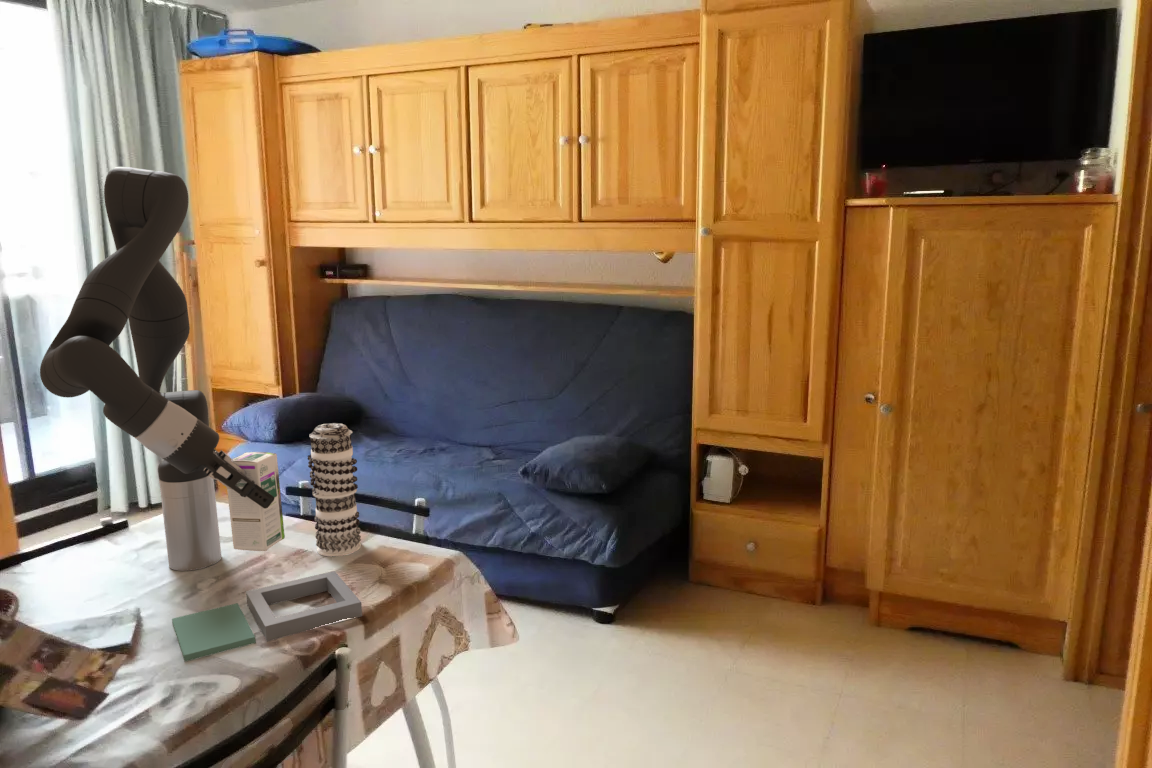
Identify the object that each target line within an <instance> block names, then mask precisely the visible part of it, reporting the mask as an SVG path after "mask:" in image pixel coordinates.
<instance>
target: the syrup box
mask: <svg viewBox="0 0 1152 768" xmlns="http://www.w3.org/2000/svg"><path fill="white" fill-rule="evenodd" d="M232 459H233V461H234V463H235V464H237V465H238V466H239V467H241V468H242V469H243V470H245V471H246V473H247V474H246V476H247V477H248V478H250V479H251V480H252V481H253V480H254V481H255V483H256V484H257V485H258V486H260V487H261V488H262V489H264V490H265V491H267V492H268V493H270V494H271V495H272V496H273V497H274V501H273V502H272V503H271V504H270V506H269V507H268V508H263V507H261V506H260V505H258V504H257V503H256V502H254V501H253V500H251V499H250V498H248V497H242V496H240V494H239V493H237V492H236V491H234V490H231V489H229V488H227V487H226V490H227V499H228V500H227V501H228V507H229V508H228V509H229V517H230V526H231V535H232V544H233V545H232V546H233V549H234V550H240V551H249V552H251V551H252V552H253V551H254V552H267V551H269V549H270V548H272V547H273V546H275V545H276V544H278V543H279V542H281V541H283V540H284V539H285V537H286V535H285V528H284V525H285V524H284V516H283V505H282V495H281V486H280V484H281V483H280V474H279V464H278V454H277V453H275V452H268V451H251V452H250V451H249V452H244V453H243V454H241V455H239V456H237V457H234V458H232ZM237 471H238V470H237ZM246 483H247V482H246V481H244V480H243V479H242V480H241V481H240V482H239V484H238V487H239V488H240V489H242V488H243V487H244V486H245V485H246Z"/></svg>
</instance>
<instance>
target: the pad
mask: <svg viewBox="0 0 1152 768" xmlns="http://www.w3.org/2000/svg"><path fill="white" fill-rule="evenodd" d="M171 622H172V627H173V631H174V633H175V637H176V639H177V641H178V642H177V643H178V646H179V648H180V651H181V652H180V653H181V655H182V659H183V660H184V662H188V661H192V660H196V659H200V658H204V657H207V656H211V655H215V654H219V653H223V652H226V651H230V650H234V649H238V648H241V647H245V646H249V645H252V644H256V636H255V634H254V632H253V630H252V628H251V626H250V624H249V622H248V620H247V618H246V616H245V615H244V613H243V610H242V609H241V607H240V605H239V603H238V602H237V603H232V604H228V605H223V606H220V607H215V608H211V609H206V610H202V611H197V612H194V613H190V614H186V615H182V616H178V617H173V618H172V619H171Z"/></svg>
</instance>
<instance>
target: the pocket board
mask: <svg viewBox="0 0 1152 768" xmlns="http://www.w3.org/2000/svg"><path fill="white" fill-rule="evenodd" d="M327 590H328V591H327ZM323 591H324V592H328V593H329V595H330V594H331V595H330V596H331V597H332V598H333V600H334V599H335V600H334V601H335V602H334V603H330V604H326V605H322V606H318V607H315V608H311V609H309V608H308V609H307V610H302V611H297V612H294V613H289V614H286V615H283V616H282V615H281V616H278V617H276V616H275V614H274V612H273V611H272V609H271V607H270V605H275V604H278V603H283V602H287V601H292V600H295V599H299V598H303V597H306V596H311V594H312V595H315V594H316V595H317V594H321V593H324V592H323ZM245 598H246V605H247V607H248V610H249V611H250V613H251V616H252V617H253V619H254V621H255V623H256V624H257V626H258V628H259V630H260V632H261V634H262V635H263V637H264V639H265V642H271V641H273V640H279V639H281V638H284V637H289V636H293V635H296V634H300V633H304V632H307V631H306V630H308V631H311V630H310V629H312V630H314V629H313V628H315V627H319V626H321V625H325V624H329V623H333V622H336V621H339V620H342V619H347V618H353V619H355V618H354V617H357V618H361V617H363V608H362V601H361V600H360V599H359V597H358V596H357V595H356V594H355V593H354V592H353V590H351V588H350V586H348V584H347V583H346V582H345V581H344V580H343V579H342V578H341V577H340V575H338V573H337V572H336V571H335V570H332V571H327V572H325V573H318V574H316V575H315V574H314V575H312V576H311V575H310V576H307V577H303V578H297V579H294V580H290V581H289V580H288V581H285V582H281V583H277V584H272V585H267V586H264V587H259V588H254V589H251V590H246V591H245ZM319 628H320V627H319Z"/></svg>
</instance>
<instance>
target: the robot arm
mask: <svg viewBox="0 0 1152 768" xmlns="http://www.w3.org/2000/svg"><path fill="white" fill-rule="evenodd" d="M103 197H104V205H105V206H104V207H105V211H106V216H107V219H108V223H109V226H110V230H111V234H112V239H113V242H114V245H115V249H116V251H114V252H113V253H112V254H110V255H109V256H108V257H106V258H105V259H103V260H102V261H101V262H100V263H98V264H97V265H96V266H94V268H93V269H92V270H91V271H90V272H89V273H88V275H87V276H86V278H85V280H84V281H83V283H82V285H81V288H80V290H79V291H78V293H77V296H76V299H75V301H74V303H73V304H72V307H71V310H70V313H69V315H68V317H67V319H66V321H65V322H64V324H63V325H62V327H60V329H59V331H58V333H57V334H56V336H55V337H54V338H53V340H52V342H51V344H50V345H49V347H48V349H46V352H45V353H44V356H43V358H42V360H41V363H40V367H39V377H40V381H41V382H42V384H43V386H44V388H45V389H47V391H48V392H50V393H51V394H53V395H55V396H57V397H61V398H75V397H79V396H81V395H83V394H86V393H87V392H89V391H90V392H91V393H92V394H93V395H95V396H96V397H97V398H98V399H99V400H100V401H101V402H102V403H103V404H104V405H103V408H102V411H103V412H102V413H103V415H104V417H105V418H106V419H107V420H109V421H110V423H112V424H114V425H115V426H116V427H118V428H120V429H121V430H122V431H124V432H125V433H126V434H128V435H130V436H131V437H132V438H134V439H135V440H137V441H138V442H139V443H140V444H141V445H142V446H143V447H145V448H146V449H147V450H148V451H150V452H152V453H153V454H155V455H156V456H157V457H159V458H160V459H162V461H161V462H160V463H159V465H157V474H158V482H159V483H158V484H159V489H160V497H161V499H160V500H161V507H162V515H163V525H164V532H165V534H164V535H165V540H166V541H165V542H166V550H167V560H168V567H169V568H170V569H171V570H175V571H195V570H200V569H205V568H209V567H210V566H212V565H215V564H216V563H218V562H220V560H221V559H222V550H221V549H222V548H221V539H220V538H221V537H220V529H219V518H218V509H217V501H216V491H215V482H214V481H217V482H219V483H221V484H222V485H223V486H224V487H226V489H227V488H229V489H231V490H234V491H236V492H237V493H239V494H240V496H242V497H248V498H250V499H251V500H253V501H254V502H256V503H257V504H258V505H260V506H261V507H263V508H268V507H269V506H270V504H271V503H272V502H273V501H274V497H273V496H272V495H271V494H270V493H268V492H267V491H265V490H264V489H262V488H261V487H260V486H258V485H257V484H256V483H255V481H254V480H253V481H252V480H251V479H250V478H248V477H247V476H246V474H247V473H246V471H245V470H243V469H242V468H241V467H239V466H238V465H237V464H235V463H234V461H233V459H234V458H232V457H230V455H229V454H227V453H226V451H223V450H222V449H220V451H218V450H217V449H215V448H217V446H218V444H219V442H220V434H219V433H218V431H215V430H214V429H212V428H211V427H210V425H209V423H210V422H209V421H210V420H209V419H210V418H209V407H208V401H207V398H206V396H205V394H204V392H202V391H201V390H198V389H195V390H193V389H192V390H180V391H179V390H177V391H168V392H167V391H166V392H161V388H162V384H163V382H164V380H165V377H166V374H167V372H168V370H169V368H170V367H171V365H172V364H173V363H174V361H175V360H176V358H177V357H178V355H179V354H180V352H181V351H182V349H183V347H184V346H185V344H186V343H187V341H188V338H189V336H190V335H189V334H190V331H191V330H190V329H191V328H190V320H189V310H188V302H187V299H186V295H185V293H184V291H183V290H182V288H181V287H180V285H179V283H178V282H177V281H176V279H175V278H174V277H173V276H172V274H171V273H170V272H169V270H167V268H166V267H165V266H164V265H163V264H162V262H161V261H160V260H161V258H162V257H163V255H164V254H165V253H166V251H167V249H168V248H169V246H170V244H171V243H172V241H173V240H174V239H175V237H176V236H177V234H178V232H179V231H180V229H181V228H182V226H183V223H184V221H185V219H186V216H187V213H188V209H189V208H188V207H189V193H188V188H187V185H186V183H185V181H184V180H183V179H182V177H180V176H179V175H178V174H175V173H171V172H167V171H160V170H152V169H144V168H137V167H131V166H130V167H129V166H116V167H113V168H111V169H110V170H109V171H108V173H107V174H106V177H105V180H104V186H103ZM127 323H128V326H129V329H130V334H131V338H132V344H133V350H134V355H135V359H136V364H137V370H138V371H137V372H138V374H137V372H136V371H135V370H134V369H133V368H132V367H131V366H130V365H129V364H128V363H127V361H126V360H125V359H124V358H123V357H122V356H121V355H120V354H119V353H118V352H117V351H116V349H114V348H113V347H112V346H111V344H112V343H113V341H115V340H116V339H117V338H118V337H119V336H120V335H121V334H122V332H123V330H124V328H125V326H126V324H127ZM237 470H238V471H237ZM242 479H243V480H244V481H246V482H247V483H246V485H245V486H244V487H243V488H242V489H240V488H239V487H238V484H239V482H240V481H241V480H242Z"/></svg>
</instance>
